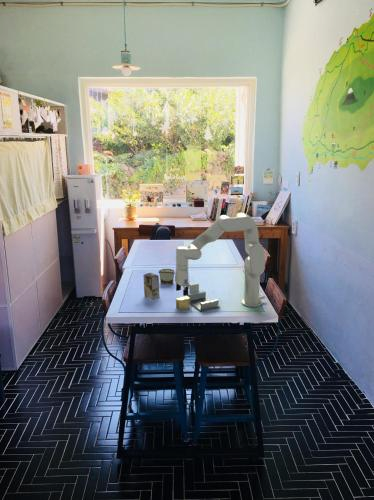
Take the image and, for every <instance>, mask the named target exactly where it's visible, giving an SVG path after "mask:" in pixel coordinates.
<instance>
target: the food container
mask: <svg viewBox="0 0 374 500" xmlns="http://www.w3.org/2000/svg"><path fill="white" fill-rule="evenodd" d="M175 272H176V271H175V270H174V269H172V268H162V269H159V270H158V275H159V279H160V284H162V285H173V284H174V281H175Z"/></svg>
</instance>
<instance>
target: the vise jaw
mask: <svg viewBox="0 0 374 500" xmlns="http://www.w3.org/2000/svg"><path fill="white" fill-rule="evenodd" d="M186 296H188V297H189V298H190V301H192V300H197V299H201V298H206V297H207V293H206V291H205V290H204V289H200V284H199V282H195V283H189V292H188V295H186Z"/></svg>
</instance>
